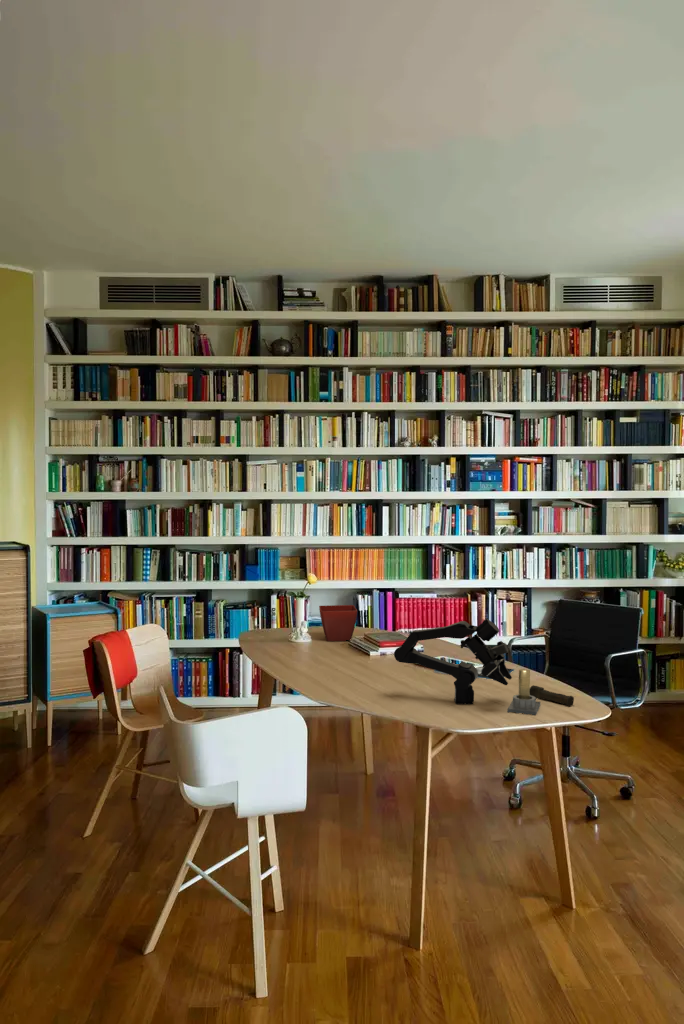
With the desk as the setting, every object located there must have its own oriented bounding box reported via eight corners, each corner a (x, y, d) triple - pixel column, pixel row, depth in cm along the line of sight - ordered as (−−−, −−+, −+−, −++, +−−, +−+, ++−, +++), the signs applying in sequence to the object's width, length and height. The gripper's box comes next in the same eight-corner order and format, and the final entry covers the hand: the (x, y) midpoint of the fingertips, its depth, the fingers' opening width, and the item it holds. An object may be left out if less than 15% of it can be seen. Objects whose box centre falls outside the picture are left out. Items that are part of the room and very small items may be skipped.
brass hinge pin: (519, 706, 280) (520, 671, 280) (517, 703, 284) (517, 668, 284) (530, 706, 280) (531, 671, 280) (528, 703, 284) (528, 668, 284)
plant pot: (320, 643, 402) (320, 610, 401) (318, 636, 421) (319, 605, 420) (357, 642, 403) (357, 610, 403) (353, 635, 422) (353, 605, 422)
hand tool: (574, 706, 287) (574, 693, 287) (568, 707, 285) (568, 695, 285) (533, 695, 302) (534, 683, 302) (527, 696, 300) (527, 684, 300)
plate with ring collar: (507, 712, 278) (507, 700, 277) (513, 702, 291) (513, 691, 290) (535, 715, 274) (536, 703, 274) (540, 705, 287) (540, 693, 287)
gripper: (491, 639, 277) (521, 673, 273) (499, 631, 294) (528, 662, 291) (468, 659, 280) (498, 693, 276) (478, 649, 297) (507, 681, 294)
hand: (509, 681), depth 284 cm, fingers open, 9 cm apart
